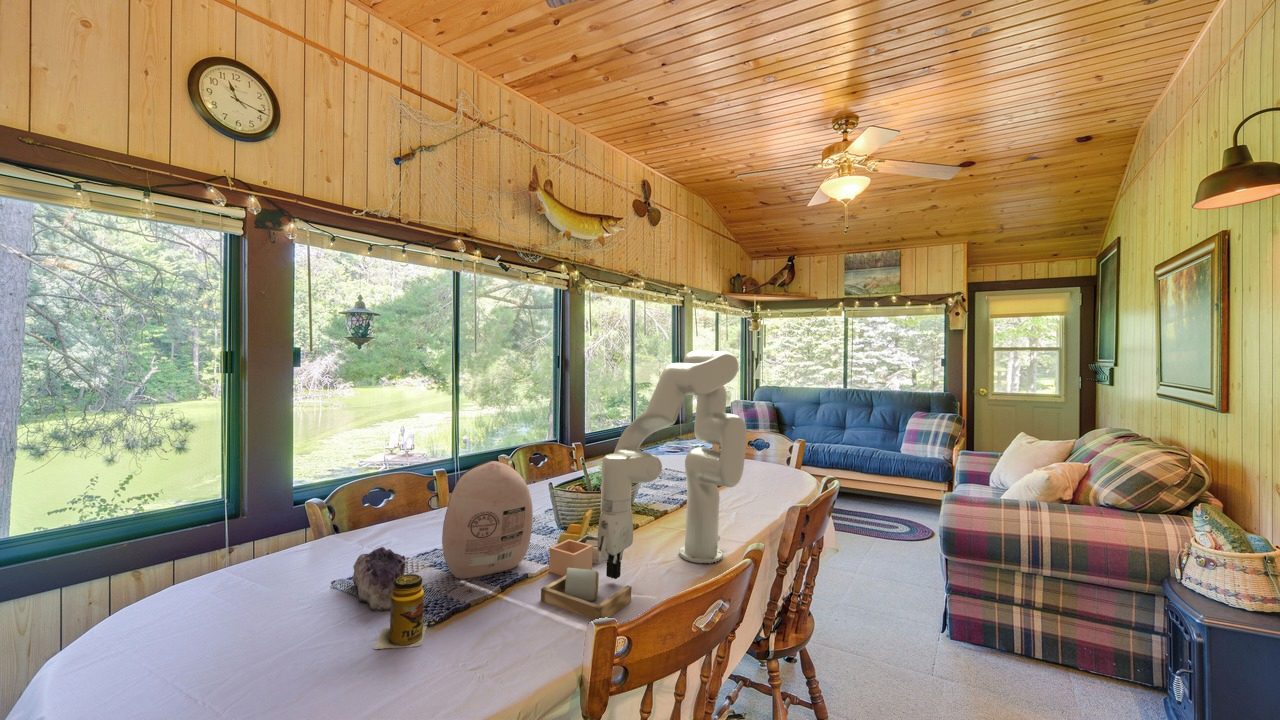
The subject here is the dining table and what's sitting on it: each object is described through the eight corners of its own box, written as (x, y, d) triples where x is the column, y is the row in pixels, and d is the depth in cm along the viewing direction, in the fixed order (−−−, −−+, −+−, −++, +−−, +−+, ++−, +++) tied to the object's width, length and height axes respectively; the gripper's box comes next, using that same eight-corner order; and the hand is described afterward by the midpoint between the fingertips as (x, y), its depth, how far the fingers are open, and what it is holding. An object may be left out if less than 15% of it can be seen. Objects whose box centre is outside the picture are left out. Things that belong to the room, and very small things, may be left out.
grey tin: (585, 551, 155) (586, 534, 155) (610, 556, 152) (611, 539, 152) (572, 561, 148) (573, 543, 148) (598, 566, 145) (599, 548, 145)
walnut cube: (586, 553, 152) (587, 539, 152) (600, 554, 152) (600, 541, 152) (583, 559, 148) (584, 544, 148) (597, 560, 148) (598, 546, 148)
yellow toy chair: (564, 533, 170) (565, 505, 170) (593, 536, 169) (594, 507, 169) (553, 545, 160) (554, 514, 160) (584, 548, 158) (585, 517, 158)
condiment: (421, 646, 104) (423, 585, 104) (373, 650, 102) (375, 587, 102) (427, 627, 111) (429, 570, 111) (383, 630, 109) (385, 572, 109)
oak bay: (575, 583, 134) (576, 569, 134) (631, 601, 126) (631, 586, 126) (540, 603, 123) (541, 588, 123) (598, 624, 115) (599, 608, 114)
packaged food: (514, 553, 152) (518, 448, 151) (541, 580, 135) (546, 462, 135) (434, 568, 140) (438, 454, 139) (453, 599, 123) (457, 470, 123)
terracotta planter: (567, 564, 146) (568, 539, 145) (591, 571, 142) (592, 545, 141) (548, 574, 139) (549, 547, 139) (573, 582, 135) (574, 555, 134)
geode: (421, 604, 121) (416, 563, 119) (364, 624, 114) (359, 580, 113) (402, 568, 137) (398, 532, 136) (352, 584, 131) (347, 546, 129)
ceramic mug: (598, 607, 122) (599, 574, 122) (563, 607, 122) (564, 575, 122) (596, 588, 133) (597, 558, 133) (564, 588, 132) (566, 558, 132)
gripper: (611, 514, 125) (609, 591, 125) (643, 500, 138) (641, 570, 138) (585, 508, 129) (583, 583, 129) (619, 495, 142) (616, 563, 142)
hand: (613, 576), depth 134 cm, fingers closed
